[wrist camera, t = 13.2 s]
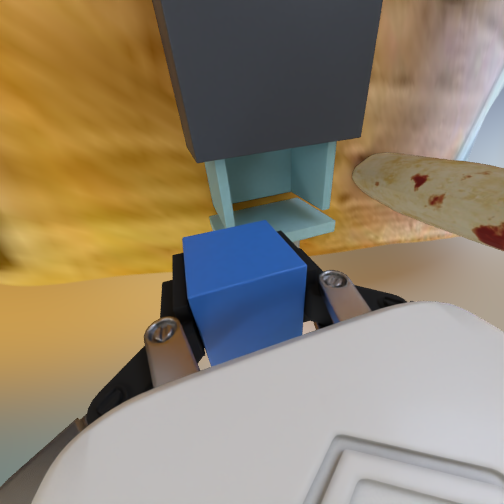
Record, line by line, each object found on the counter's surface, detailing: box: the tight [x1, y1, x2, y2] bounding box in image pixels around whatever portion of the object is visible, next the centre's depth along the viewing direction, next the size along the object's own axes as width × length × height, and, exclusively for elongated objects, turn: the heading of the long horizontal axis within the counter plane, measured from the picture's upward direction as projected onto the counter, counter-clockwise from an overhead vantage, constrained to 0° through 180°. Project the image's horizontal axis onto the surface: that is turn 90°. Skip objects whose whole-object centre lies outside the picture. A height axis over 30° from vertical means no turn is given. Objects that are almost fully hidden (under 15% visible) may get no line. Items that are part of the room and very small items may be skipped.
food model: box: [352, 153, 504, 251], centre depth 22 cm, size 10×7×20 cm
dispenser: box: [152, 0, 383, 163], centre depth 15 cm, size 15×13×10 cm
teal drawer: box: [205, 141, 337, 248], centre depth 22 cm, size 19×11×8 cm, turn 5°
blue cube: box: [182, 220, 307, 367], centre depth 11 cm, size 4×4×4 cm
